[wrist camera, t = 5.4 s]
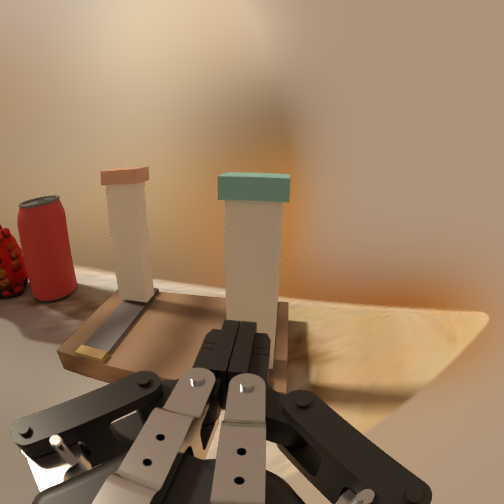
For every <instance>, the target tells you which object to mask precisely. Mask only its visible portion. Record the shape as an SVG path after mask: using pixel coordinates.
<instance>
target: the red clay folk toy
mask: <svg viewBox="0 0 504 504" xmlns="http://www.w3.org/2000/svg"><path fill="white" fill-rule="evenodd" d="M27 282H28V274H27V270H26V266H25V261H24V257H23V255H22V250H21V248H20V247H19V246H18V244H17V242H16V239H15V238H14V237H13V236H12V235H11V234H10V231H9V229H7V228H5V229H2V227H1V225H0V297H1V296H2V297H6V298H10V297H14V296H17V295H19V294H21V293H22V292H23V289H24V288H25V287H26V285H27Z"/></svg>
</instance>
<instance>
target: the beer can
mask: <svg viewBox="0 0 504 504" xmlns="http://www.w3.org/2000/svg"><path fill="white" fill-rule="evenodd" d="M59 198H60V197H59V196H56V195H53V196H44V197H39V198H35V199H31V200H27V201H24V202H22V203H20V204H19V207H20V208H19V213H18V224H17V225H18V230H19V236H20V242H21V247H22V252H23V257H24V261H25V266H26V270H27V274H28V278H29V282H30V286H31V290H32V293H33V295H34V297H35V298H36V299H38V300H40V301H45V302H49V301H56V300H60V299H62V298H65V297H67V296H68V295H70V294H71V293H72V292H73V291H74V290H75V288H76V286H77V281H76V276H75V272H74V267H73V261H72V256H71V250H70V244H69V238H68V232H67V224H66V217H65V211H64V208H63V206H62V204H61V202H60V200H59Z"/></svg>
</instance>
